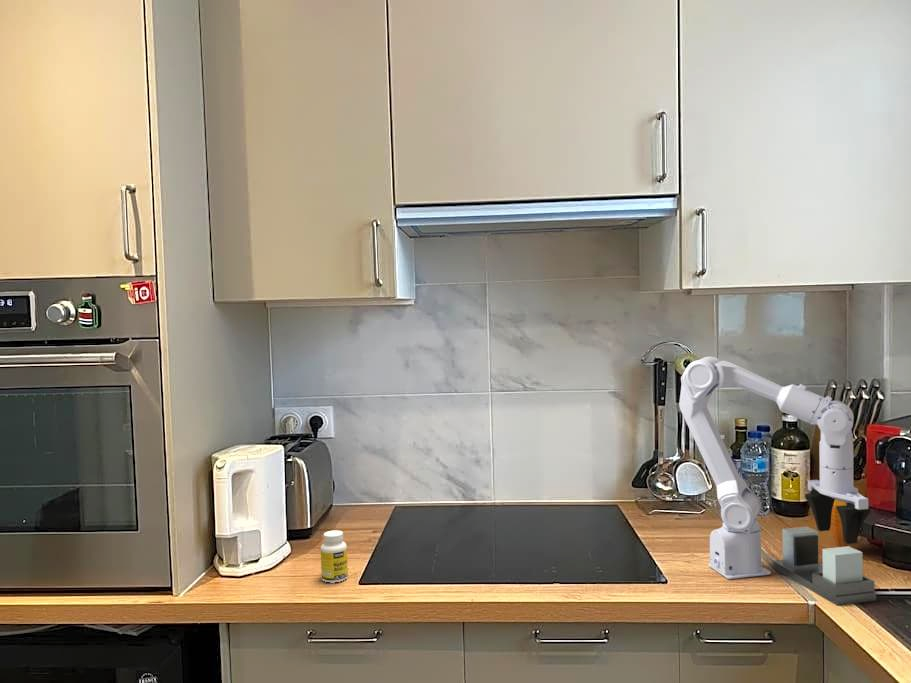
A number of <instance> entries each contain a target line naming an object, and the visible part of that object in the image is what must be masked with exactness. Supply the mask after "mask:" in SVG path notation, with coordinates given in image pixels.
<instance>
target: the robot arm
mask: <svg viewBox="0 0 911 683" xmlns="http://www.w3.org/2000/svg"><path fill="white" fill-rule="evenodd" d="M680 382H681V386H680V395H679V403H678V404H679V410H680V412H681V414H682V416H683V418H684V420H685V423H686V425H687V426H688V429H689V431H690V433H691V435H692V437H693V439H694V441H695V444H696V446H697V449H698V451H699V453H700V454H701V456H702V458H703V461H704V463H705V465H706V467H707V469H708V472H709V474H710V476H711V478H712V480H713V483H714V485H715V486H716V494H717V496H716V497H717V500H718V502H719V505H720V518H721V520H722V526H721V527H719V528H717V529H713V530H712V531H711V532H710V534H709V562H708V565H707V566H708V567H710V568H711V569H713V570H714V571H716V572H717V573H719V574H720V575H722V577H724V578H726V579H728V580H733V579H741V578H751V577H761V576H766V575H767V576H769V575H772V572H771V571H770V570H768V569H767V568H765V567H763V566H762V533H761V532H762V530H761V524H760V523H759V521H758V519H757V517H758V515H760V513H761V512H762V511H761V510H762V502H761V500H760V498H759V496H758V495H757V494H756V493H754V491H752V490H751V489H750V488H749V486H748V484H747V482H746V481H745V479H743V478H742V477H741V475H740V474H739V472H738V470H737V467H736V465H735V463H734V461H733V459H732V457H731V455H730V453H729V450H728V448H727V446H726V445H725V442H724V439H723V438H722V436H721V434H720V432H719V430H718V427H717V426H716V423H715V421H714V419H713V417H712V415H711V413H710V411H709V408H708V407H707V406H708V403H709V402H710V398H711V396H712V394H713V392H714V390H716V388H729V387H739V388H741V389H743V390H746V391H748V392H750V393H751V392H752V394H753V393H754V394H756V395H758V396H761V397H763V398H766V399H769V400H771V401H774V402H775V403H776V404H777V406H778V408H779V411H780V412H783V413H785V414H787V415H790V416H792V417H794V418H796V419H799V420H800V421H803V422H805V423H808V424H810V425H813V426H814V425H817V426H818V428H819V430H820V441H819V442H818V443H819V445H818V446H819V451H818V453H819V456H818V457H819V480H818V479H811V480H809V479H808V480H807V490H808V491H810V492H809V493H805V495H804V498H805V500H806V501H807V503H808V505H809V507H810V508H811V511H812V513H813V517H814V520H815V524H816V529H817V531H818V532H826V531H827V532H828V531H830V529H831V514H832V508H833V504H834V501H835V499H837V500H839V501H842V502H844V503H847V506H846V505H845V506H836V509H837V511H838V513H839V515H840V518H841V522H842V529H843V539H844V542H845V543H846V544H848V545H849V544H850V545H851V544H852V545H853V544H857V543H858V540H859V535H860V532H861V529H862V526H863V524H864V522H865V521H866V519H867V517H868V516H869V514H870V513H871V512H872V511H871V509H872V508H870V507H869V498H868V497H865V496H863V495H862V494H860V493H859V488H858V487H856V486H854V443H853V438H854V436H853V435H854V434H853V431H852V429H853V426H854V419H855V418H854V412H853V410H852V408H850V406H848V405H847V404H846V403H843V401H841V400H833V398H832V397H831V396H828V395H826V397H825V396H822V395H820V394H817V393H814V392H813V391H811V390H808V389H807V388H808V387H807V386H806V385H805V384H802V383H800V384H799V385H796V384H793V383H791V384H789V385H786V386H782V385H780V384H778V383H776V382H773V381H771V380H769V379H767V378H765V377H763V376H760V375H759V374H756V373H754V372H752V371H750V370H749V369H745V368H744V367H741V366H739V365H737V364H735V363H732V362H729V361H727V360H720V359H719V358H717V357H714V356H705V357H702V358H701V359H697V360H694V361H692V362H691V363H689V364H688V365H687V367H686V368H685V370H684V371H683V374H682V375H681V376H680Z"/></svg>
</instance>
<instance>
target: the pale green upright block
mask: <svg viewBox="0 0 911 683" xmlns="http://www.w3.org/2000/svg"><path fill="white" fill-rule="evenodd" d="M863 554H864V553H863V552H862V551H861V550H858V549H856V548H854V547H851V546H850V545H848V546H846V547H838V546H837V547H836V546H835V547H830V548H829V547H827V548H822V565H823V577H824V578H826V579H828V580H830V581H832V582H834V583H835V584H840V583H848V582H857V581H863V576H864V574H863V573H864V572H863V571H864V570H863V568H864V567H863V566H864V564H863V562H864V561H863V557H864V556H863Z"/></svg>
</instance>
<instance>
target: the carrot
mask: <svg viewBox="0 0 911 683" xmlns="http://www.w3.org/2000/svg"><path fill="white" fill-rule="evenodd" d="M845 505H846V506H847V503H844V502H842V501H839V500H837V499H835V501H834V504H833V508H832V514H831V526H830V529H831V533H832V538H833V539H834V542H835V544H836V546H837V547H846V546H849V544H846V543H845V542H844V539H843V529H842V522H841V518H840V515H839V513H838V511H837V509H836V506H845Z"/></svg>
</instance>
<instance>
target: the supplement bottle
mask: <svg viewBox="0 0 911 683" xmlns="http://www.w3.org/2000/svg"><path fill="white" fill-rule="evenodd" d="M343 540H344V532H343V531H342V530H335V529H334V530H329V531H326V532H324V533H323V541H324V542H323V543H322V544H321V545H320V563H321V564H320V566H321V580H322V582H324V581H325V582H324V583H326V582H330V583H329V584H336V583H335V582H339V583H341V582H340V581H342V582H344V581H346V580H347V579H348V576H349V574H348V573H349V572H348V547H347V543H346V542H345V541H343ZM345 579H346V580H345ZM343 580H344V581H343Z"/></svg>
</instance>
